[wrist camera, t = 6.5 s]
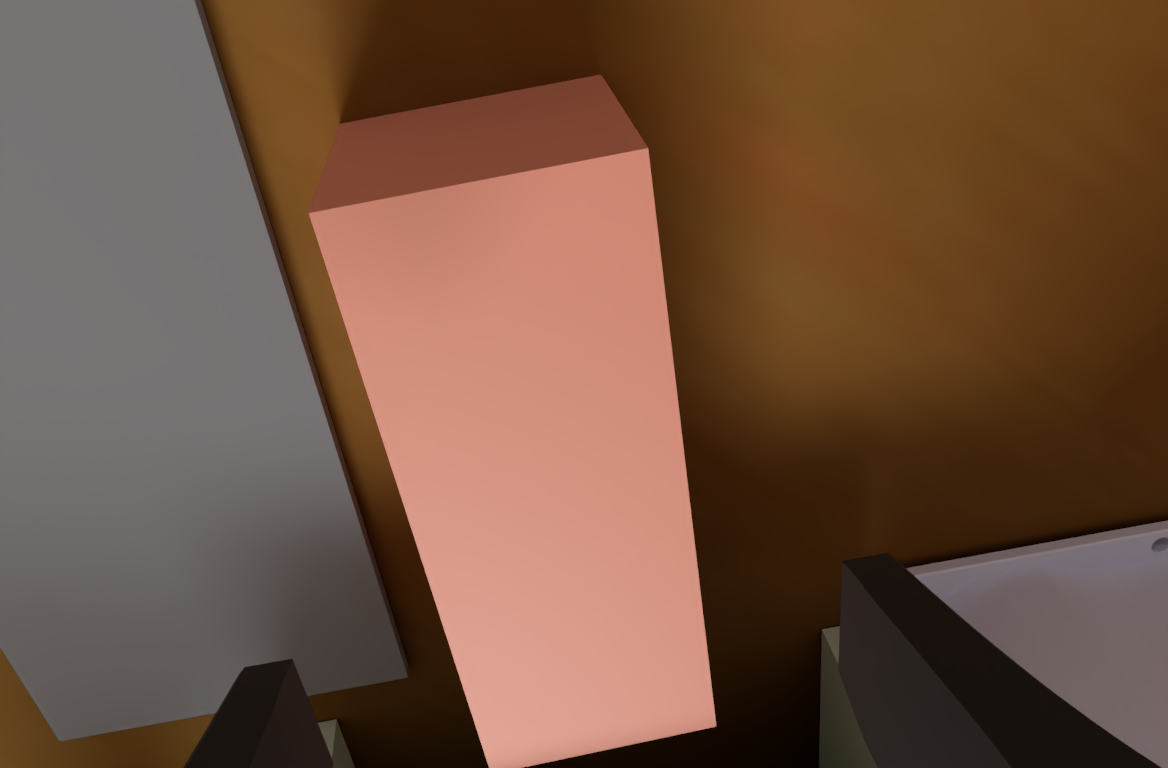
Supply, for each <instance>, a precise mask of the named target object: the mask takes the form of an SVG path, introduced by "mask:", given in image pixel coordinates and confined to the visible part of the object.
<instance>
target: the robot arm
mask: <svg viewBox="0 0 1168 768" xmlns="http://www.w3.org/2000/svg"><path fill="white" fill-rule="evenodd" d="M838 670H839V673H840V676H841V679H842V682H843V684H844V687H845V690H846V693H847V695H848V698H849V701H850V704H851V707H852V709H853V712H854V715H855V717H856V720H857V723H858V725H859V728H860V730H861V733H862V736H863V738H864V741H865V743H866V745H867V747H868V749H869V751H870V753H871V756H872V758H873V760H874V762H875V764H876V766H877V768H1168V520H1167V521H1162V522H1156V523H1151V524H1145V525H1140V526H1134V527H1129V528H1124V529H1118V530H1113V531H1107V532H1102V533H1096V534H1091V535H1085V536H1080V537H1074V538H1069V539H1063V540H1058V541H1052V542H1047V543H1042V544H1036V545H1031V546H1025V547H1020V548H1014V549H1009V550H1003V551H998V552H992V553H987V554H981V555H976V556H970V557H965V558H959V559H954V560H949V561H943V562H938V563H932V564H927V565H921V566H916V567H910V568H905V567H904V566H903V565H902V564H900V563H899V562H898V561H897V560H896V559H895V558H893V557H892V556H891V555H889V554H888V553H887V554H881V555H875V556H870V557H864V558H858V559H853V560H847V561H843V563H842V588H841V612H840V637H839V662H838ZM184 768H333V760H332V758H331V755H330V753H329V750H328V747H327V745H326V742H325V740H324V737H323V735H322V732H321V730H320V727H319V725H318V722H317V720H316V717H315V715H314V712H313V710H312V707H311V704H310V702H309V699H308V697H307V694H306V692H305V689H304V687H303V684H302V682H301V679H300V677H299V674H298V672H297V669H296V667H295V664H294V661H293V659H287V660H282V661H276V662H271V663H265V664H259V665H254V666H248V667H244V668H243V670H242V671H241V672H240V673H239V675H238V676H237V678H236V680H235V681H234V683H233V685H232V687H231V688H230V690H229V692H228V693H227V695H226V697H225V699H224V700H223V702H222V704H221V705H220V707H219V709H218V711H217V712H216V714H215V716H214V717H213V719H212V721H211V723H210V724H209V726H208V728H207V729H206V731H205V733H204V734H203V736H202V738H201V739H200V741H199V743H198V744H197V746H196V748H195V749H194V751H193V753H192V754H191V756H190V758H189V759H188V761H187V763H186V764H185V766H184Z"/></svg>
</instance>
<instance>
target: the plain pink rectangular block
mask: <svg viewBox="0 0 1168 768" xmlns="http://www.w3.org/2000/svg"><path fill="white" fill-rule="evenodd" d="M309 215H310V219H311V222H312V225H313V228H314V231H315V234H316V237H317V240H318V243H319V246H320V249H321V252H322V255H323V259H324V262H325V265H326V268H327V271H328V274H329V277H330V280H331V283H332V286H333V289H334V292H335V295H336V299H337V302H338V305H339V308H340V311H341V314H342V317H343V320H344V323H345V326H346V329H347V332H348V335H349V339H350V342H351V345H352V348H353V351H354V354H355V357H356V360H357V363H358V366H359V369H360V372H361V375H362V379H363V382H364V385H365V388H366V391H367V394H368V397H369V400H370V403H371V406H372V409H373V412H374V415H375V419H376V422H377V425H378V428H379V431H380V434H381V437H382V440H383V443H384V446H385V449H386V452H387V455H388V459H389V462H390V465H391V468H392V471H393V474H394V477H395V480H396V483H397V486H398V489H399V492H400V495H401V499H402V502H403V505H404V508H405V511H406V514H407V517H408V520H409V523H410V526H411V529H412V532H413V535H414V539H415V542H416V545H417V548H418V551H419V554H420V557H421V560H422V563H423V566H424V569H425V572H426V575H427V579H428V582H429V585H430V588H431V591H432V594H433V597H434V600H435V603H436V606H437V609H438V612H439V615H440V619H441V622H442V625H443V628H444V631H445V634H446V637H447V640H448V643H449V646H450V649H451V652H452V655H453V659H454V662H455V665H456V668H457V671H458V674H459V677H460V680H461V683H462V686H463V689H464V692H465V695H466V699H467V702H468V705H469V708H470V711H471V714H472V717H473V720H474V723H475V726H476V729H477V732H478V735H479V739H480V742H481V745H482V748H483V751H484V754H485V757H486V760H487V763H488V766H489V768H524V767H528V766H533V765H538V764H542V763H547V762H552V761H557V760H561V759H566V758H571V757H576V756H580V755H585V754H590V753H594V752H599V751H604V750H609V749H613V748H618V747H623V746H627V745H632V744H637V743H642V742H646V741H651V740H656V739H660V738H665V737H670V736H675V735H679V734H684V733H689V732H693V731H698V730H703V729H708V728H712V727H716V718H715V710H714V701H713V693H712V684H711V676H710V667H709V659H708V650H707V642H706V633H705V625H704V616H703V608H702V600H701V591H700V583H699V574H698V566H697V557H696V549H695V540H694V532H693V523H692V515H691V506H690V498H689V489H688V481H687V472H686V464H685V455H684V447H683V439H682V430H681V422H680V413H679V405H678V396H677V388H676V379H675V371H674V362H673V354H672V345H671V337H670V328H669V320H668V311H667V303H666V294H665V286H664V278H663V269H662V261H661V252H660V244H659V235H658V227H657V218H656V210H655V201H654V193H653V184H652V176H651V167H650V159H649V150H648V147H647V145H646V144H645V142H644V141H643V139H642V138H641V136H640V134H639V133H638V131H637V130H636V128H635V127H634V125H633V124H632V122H631V120H630V119H629V117H628V116H627V114H626V113H625V111H624V109H623V108H622V106H621V105H620V103H619V102H618V100H617V99H616V97H615V95H614V94H613V92H612V91H611V89H610V88H609V86H608V84H607V83H606V81H605V80H604V78H603V77H602V75H601V74H600V75H595V76H590V77H585V78H579V79H574V80H569V81H563V82H558V83H553V84H547V85H542V86H537V87H532V88H526V89H521V90H516V91H510V92H505V93H500V94H495V95H489V96H484V97H479V98H473V99H468V100H463V101H457V102H452V103H447V104H442V105H436V106H431V107H426V108H420V109H415V110H410V111H404V112H399V113H394V114H389V115H383V116H378V117H373V118H367V119H362V120H357V121H352V122H346V123H341V124H339V127H338V130H337V133H336V136H335V139H334V142H333V145H332V147H331V150H330V153H329V156H328V159H327V162H326V165H325V168H324V171H323V173H322V176H321V179H320V182H319V185H318V188H317V191H316V194H315V197H314V199H313V202H312V205H311V208H310V211H309Z"/></svg>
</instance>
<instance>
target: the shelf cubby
mask: <svg viewBox="0 0 1168 768" xmlns="http://www.w3.org/2000/svg"><path fill="white" fill-rule="evenodd" d="M839 637H840V626H837V627H832V628H826V629H822V647H821V693H820V740H819V768H877V766H876V764H875V762H874V760H873V758H872V756H871V753H870V751H869V749H868V747H867V745H866V743H865V741H864V738H863V736H862V733H861V730H860V728H859V725H858V723H857V720H856V717H855V715H854V712H853V709H852V707H851V704H850V701H849V698H848V695H847V693H846V690H845V687H844V684H843V682H842V679H841V676H840V673H839V670H838V662H839ZM318 725H319V727H320V730H321V732H322V735H323V737H324V740H325V742H326V745H327V747H328V750H329V753H330V755H331V758H332V760H333V768H355V766H354V763H353V761H352V758H351V756H350V753H349V750H348V748H347V745H346V743H345V740H344V738H343V735H342V732H341V730H340V727H339V725H338V722H337V719H335V720H330V721H324V722H319V723H318Z"/></svg>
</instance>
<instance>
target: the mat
mask: <svg viewBox="0 0 1168 768" xmlns="http://www.w3.org/2000/svg"><path fill="white" fill-rule="evenodd" d="M0 648H1V650H2V651H3V653H4V654H5V656H6V658H7V659H8V661H9V662H10V664H11V665H12V667H13V669H14V670H15V672H16V673H17V675H18V677H19V678H20V680H21V681H22V683H23V684H24V686H25V688H26V689H27V691H28V692H29V694H30V695H31V697H32V699H33V700H34V702H35V703H36V705H37V707H38V708H39V710H40V711H41V713H42V714H43V716H44V718H45V719H46V721H47V722H48V724H49V726H50V727H51V729H52V730H53V732H54V733H55V735H56V737H57V738H58V740H59V741H60V742H61V741H66V740H72V739H77V738H83V737H88V736H93V735H99V734H104V733H110V732H115V731H121V730H126V729H132V728H137V727H142V726H148V725H153V724H159V723H164V722H170V721H175V720H181V719H186V718H191V717H197V716H202V715H208V714H213V713H216V712H217V711H218V709H219V707H220V705H221V704H222V702H223V700H224V699H225V697H226V695H227V693H228V692H229V690H230V688H231V687H232V685H233V683H234V681H235V680H236V678H237V676H238V675H239V673H240V672H241V671H242V670H243V668H244V667H248V666H254V665H259V664H265V663H271V662H276V661H282V660H287V659H293V661H294V664H295V667H296V669H297V672H298V674H299V677H300V679H301V682H302V684H303V687H304V689H305V692H306V694H307V696H311V695H316V694H322V693H327V692H333V691H338V690H344V689H349V688H355V687H360V686H365V685H371V684H376V683H382V682H387V681H393V680H398V679H404V678H408V667H409V666H408V663H407V659H406V656H405V653H404V650H403V647H402V643H401V640H400V637H399V634H398V631H397V627H396V624H395V621H394V618H393V615H392V611H391V608H390V605H389V602H388V598H387V595H386V592H385V589H384V586H383V582H382V579H381V576H380V573H379V570H378V566H377V563H376V560H375V557H374V554H373V550H372V547H371V544H370V541H369V538H368V534H367V531H366V528H365V525H364V522H363V518H362V515H361V512H360V509H359V506H358V502H357V499H356V496H355V493H354V490H353V486H352V483H351V480H350V477H349V473H348V470H347V467H346V464H345V461H344V457H343V454H342V451H341V448H340V445H339V441H338V438H337V435H336V432H335V429H334V425H333V422H332V419H331V416H330V413H329V409H328V406H327V403H326V400H325V397H324V393H323V390H322V387H321V384H320V381H319V377H318V374H317V371H316V368H315V365H314V361H313V358H312V355H311V352H310V348H309V345H308V342H307V339H306V336H305V332H304V329H303V326H302V323H301V320H300V316H299V313H298V310H297V307H296V304H295V300H294V297H293V294H292V291H291V288H290V284H289V281H288V278H287V275H286V272H285V268H284V265H283V262H282V259H281V256H280V252H279V249H278V246H277V243H276V240H275V236H274V233H273V230H272V227H271V223H270V220H269V217H268V214H267V211H266V207H265V204H264V201H263V198H262V195H261V191H260V188H259V185H258V182H257V179H256V175H255V172H254V169H253V166H252V163H251V159H250V156H249V153H248V150H247V147H246V143H245V140H244V137H243V134H242V131H241V127H240V124H239V121H238V118H237V115H236V111H235V108H234V105H233V102H232V98H231V95H230V92H229V89H228V86H227V82H226V79H225V76H224V73H223V70H222V66H221V63H220V60H219V57H218V54H217V50H216V47H215V44H214V41H213V38H212V34H211V31H210V28H209V25H208V22H207V18H206V15H205V12H204V9H203V6H202V2H201V0H0Z"/></svg>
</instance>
